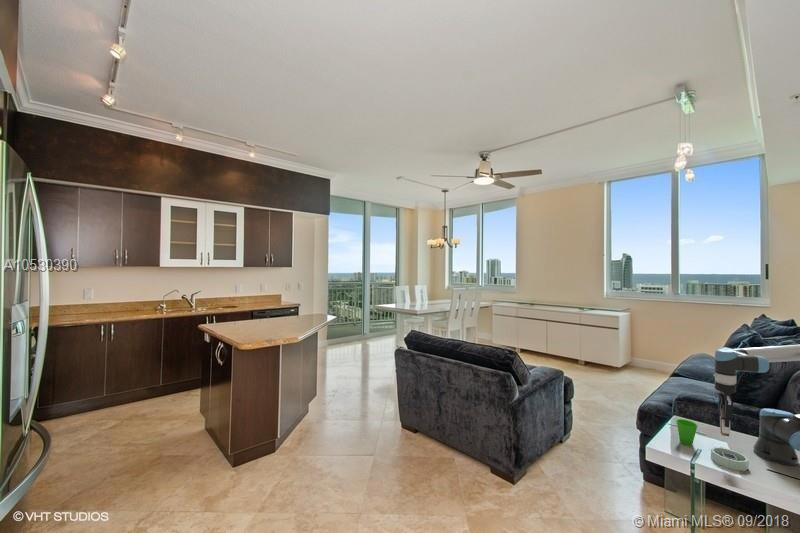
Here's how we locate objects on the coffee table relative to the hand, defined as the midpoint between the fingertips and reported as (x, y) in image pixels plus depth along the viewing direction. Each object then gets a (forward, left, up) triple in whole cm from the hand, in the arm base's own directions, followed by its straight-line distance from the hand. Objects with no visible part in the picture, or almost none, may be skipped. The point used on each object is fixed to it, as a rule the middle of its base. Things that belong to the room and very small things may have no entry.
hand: (725, 431), depth 166 cm
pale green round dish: (-2, -1, -15) cm, 15 cm away
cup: (+12, -13, -15) cm, 23 cm away
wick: (0, 0, -2) cm, 2 cm away
